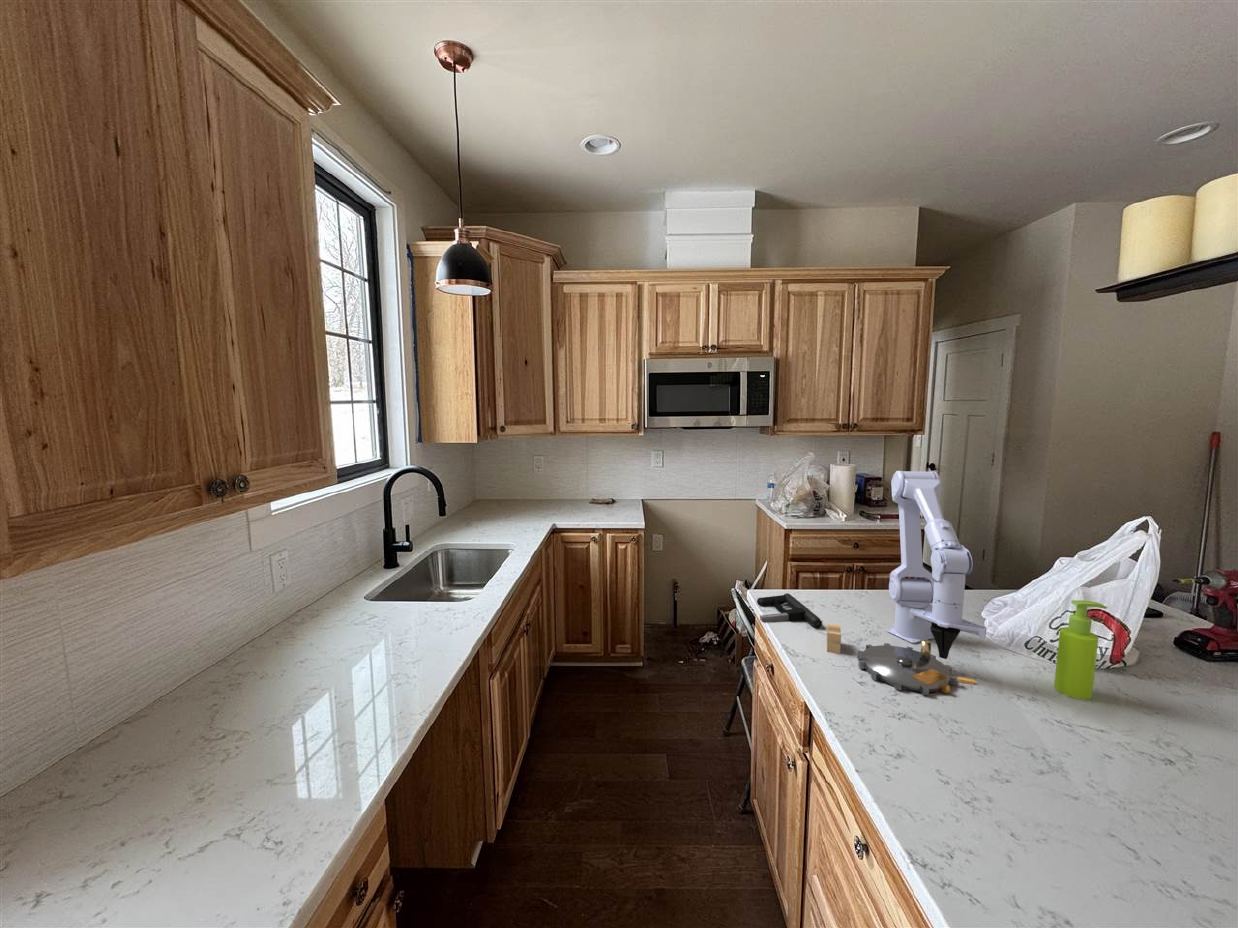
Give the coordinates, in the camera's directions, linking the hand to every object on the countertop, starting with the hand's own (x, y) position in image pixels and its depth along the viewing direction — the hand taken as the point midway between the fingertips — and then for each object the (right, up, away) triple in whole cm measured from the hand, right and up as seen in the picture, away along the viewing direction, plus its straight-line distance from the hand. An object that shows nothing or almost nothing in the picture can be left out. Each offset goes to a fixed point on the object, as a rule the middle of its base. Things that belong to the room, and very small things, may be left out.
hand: (943, 656), depth 112 cm
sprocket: (-9, -3, 0) cm, 10 cm away
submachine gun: (-27, -1, +31) cm, 41 cm away
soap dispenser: (+23, -5, -8) cm, 25 cm away
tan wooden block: (-20, -2, +12) cm, 24 cm away
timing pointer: (+2, -4, -4) cm, 6 cm away
